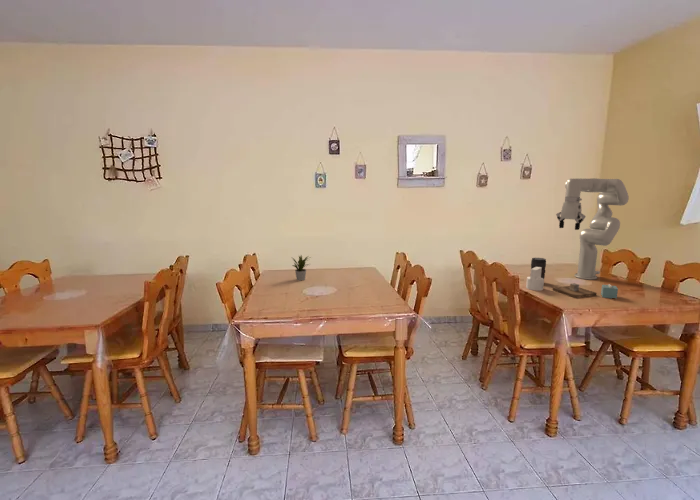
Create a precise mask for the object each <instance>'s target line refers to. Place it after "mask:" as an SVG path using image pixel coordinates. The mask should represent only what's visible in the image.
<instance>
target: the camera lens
mask: <svg viewBox="0 0 700 500" xmlns="http://www.w3.org/2000/svg"><path fill="white" fill-rule="evenodd" d="M546 260H547V259H546V258H544V257H531V259H530V261H531V262H530V270H531V269H532V268H535V267H542V270H541V278H543V279H544V280H545V277H546V267H547V261H546ZM529 274H531V272H530V273H529Z"/></svg>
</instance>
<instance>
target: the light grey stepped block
mask: <svg viewBox="0 0 700 500" xmlns="http://www.w3.org/2000/svg"><path fill="white" fill-rule="evenodd" d="M541 270H542V267H535V268H532V269H531V268H530V273H531V274H530V273H529V274H530V275H529V276H527V277H526V285H525V288H526V289H527V290H531V291H543V290H544V286H545V285H544V283H545V278H544V279H543V278H541Z"/></svg>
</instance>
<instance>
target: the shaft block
mask: <svg viewBox="0 0 700 500" xmlns="http://www.w3.org/2000/svg"><path fill="white" fill-rule="evenodd" d="M552 291H553V292H556V293H559V294H563V295H565V296H568V297H571V298H573V299H579V298H585V297H586V298H587V297H595V296H597V292H595V291H592V290H589V289H585V288H583V287H580V284H579V283H575V282H574V283H573V282H572V283H570V285H566V286H558V287H557V286H555V287H552Z"/></svg>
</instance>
